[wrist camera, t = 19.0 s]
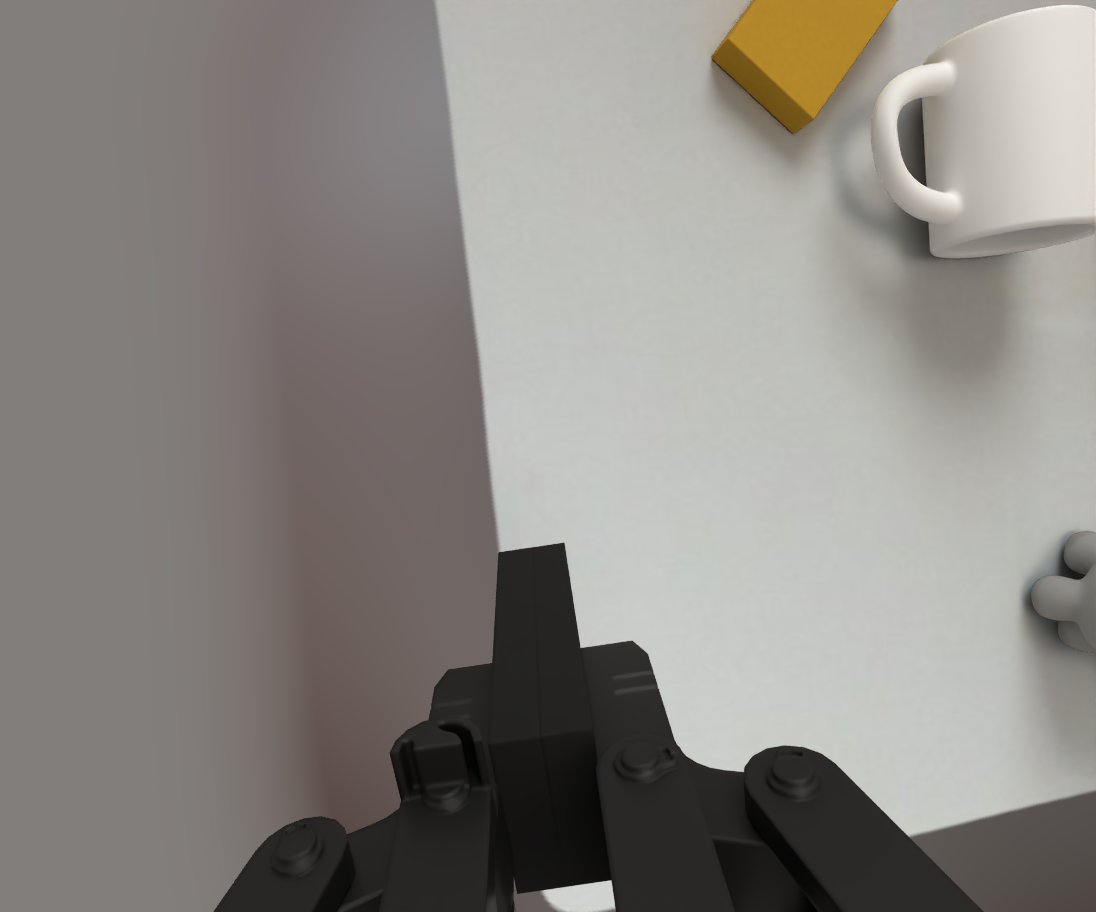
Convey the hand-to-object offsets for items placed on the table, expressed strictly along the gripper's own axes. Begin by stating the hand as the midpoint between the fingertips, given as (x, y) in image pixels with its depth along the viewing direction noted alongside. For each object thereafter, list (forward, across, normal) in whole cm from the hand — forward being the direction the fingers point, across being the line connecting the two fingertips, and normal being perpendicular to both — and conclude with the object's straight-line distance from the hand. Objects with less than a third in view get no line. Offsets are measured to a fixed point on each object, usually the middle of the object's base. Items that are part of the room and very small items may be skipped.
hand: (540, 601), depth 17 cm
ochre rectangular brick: (+29, +18, +16) cm, 38 cm away
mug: (+29, +24, +8) cm, 38 cm away
